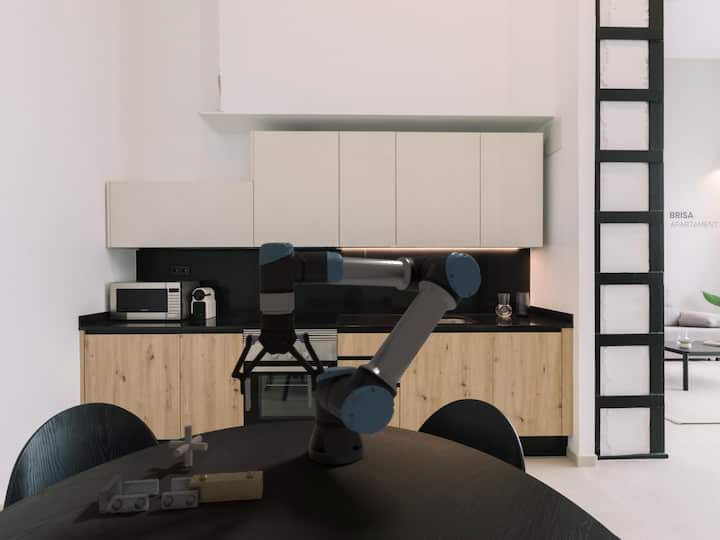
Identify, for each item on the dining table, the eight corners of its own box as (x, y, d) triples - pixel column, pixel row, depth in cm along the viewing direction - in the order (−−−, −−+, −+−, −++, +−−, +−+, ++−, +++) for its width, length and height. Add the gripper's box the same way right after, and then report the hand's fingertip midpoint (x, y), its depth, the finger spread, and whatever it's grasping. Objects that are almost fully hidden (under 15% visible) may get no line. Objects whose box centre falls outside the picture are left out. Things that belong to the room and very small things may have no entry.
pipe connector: (195, 475, 110) (195, 434, 110) (158, 472, 112) (158, 431, 112) (216, 458, 120) (216, 420, 120) (182, 456, 122) (182, 418, 122)
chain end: (205, 488, 104) (205, 474, 104) (196, 508, 95) (196, 494, 95) (173, 490, 103) (173, 476, 103) (161, 511, 94) (160, 496, 94)
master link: (263, 491, 103) (262, 468, 103) (261, 499, 99) (260, 476, 99) (194, 495, 101) (194, 472, 101) (189, 504, 97) (189, 480, 97)
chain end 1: (159, 491, 103) (159, 471, 103) (145, 512, 93) (145, 490, 94) (116, 494, 101) (116, 473, 101) (97, 515, 92) (97, 493, 92)
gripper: (332, 309, 107) (334, 399, 107) (223, 312, 104) (224, 405, 104) (334, 311, 100) (336, 409, 99) (216, 315, 97) (218, 415, 97)
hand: (279, 407), depth 102 cm, fingers open, 13 cm apart
